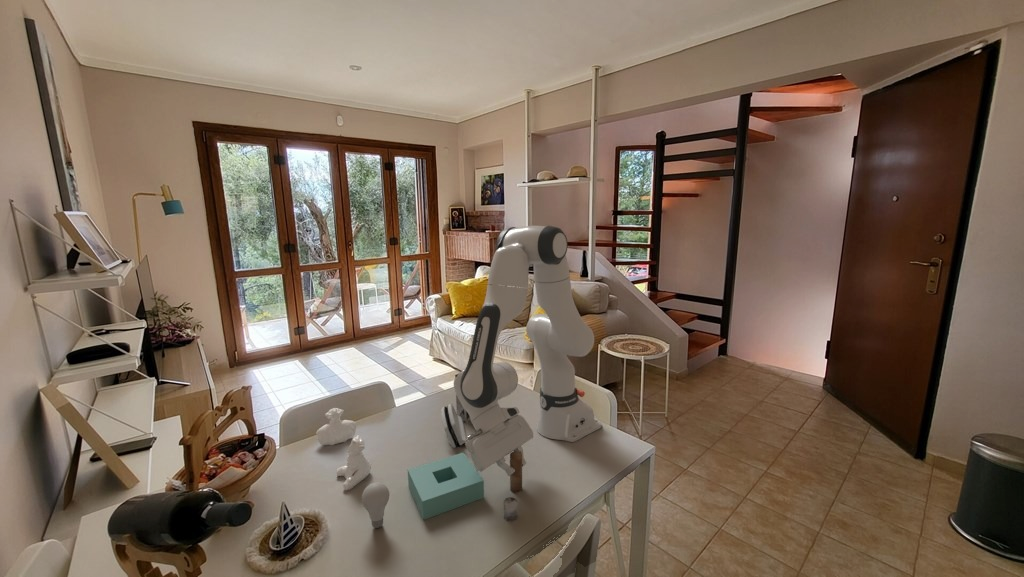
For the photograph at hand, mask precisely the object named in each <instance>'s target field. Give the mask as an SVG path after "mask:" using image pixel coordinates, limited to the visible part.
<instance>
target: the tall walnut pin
mask: <svg viewBox="0 0 1024 577" xmlns="http://www.w3.org/2000/svg"><path fill="white" fill-rule="evenodd" d="M509 466H513V468H514V469H515V472H514V473H513V474H512V475H510V476H509V477H510V478H509V486H510V487H509V488H510V491H511V493H513V494H514V493H515V494H518V493H520V492H522V491H523V467H522V453H521V452H518V451H512V452H511V453H509Z"/></svg>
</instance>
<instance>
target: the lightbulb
mask: <svg viewBox="0 0 1024 577" xmlns="http://www.w3.org/2000/svg"><path fill="white" fill-rule="evenodd" d="M389 499H390V491H389V488H388V486H387V485H386V484H385V483H382V482H379V481H376V482H372V483H370V484H368V485H367V486H366V487H365V488H364V490H363V492H362V494H361V504H362V507H364V509H365V510H366V511H367V513H368V515H369V518H370V521H371V527H372V528H374V529H380V528H381V527H382V526H383V525H384V516H385V509H386V506H387V504H388V502H389Z"/></svg>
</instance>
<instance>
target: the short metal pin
mask: <svg viewBox="0 0 1024 577" xmlns="http://www.w3.org/2000/svg"><path fill="white" fill-rule="evenodd" d="M503 518H504V520H505V521H507V522H513V521H516V520H517V518H518V500H517V499H516V498H515V497H514V496H509V497H505V499H504V500H503Z"/></svg>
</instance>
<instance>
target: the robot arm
mask: <svg viewBox="0 0 1024 577" xmlns="http://www.w3.org/2000/svg"><path fill="white" fill-rule="evenodd" d="M495 246H496V250H495V252H494V254H493V257H492V261H491V264H490V269H489V272H488V278H487V285H486V287H487V288H486V293H485V298H484V302H483V304H482V307H481V310H480V311H479V314H478V317H477V320H476V324H475V327H474V333H473V338H472V342H471V348H470V353H469V357H468V361H467V364H466V367H465V368H464V369H463V370H462V371H460V372H459V373H457V374H458V375H457V376H456V378H454V380H453V388H454V392H455V395H456V394H457V397H458V399H459V401H460V403H461V404H462V406H463V408H464V409H465V410H466V411H467V412H468V414H469V416H470V419H471V421H470V422H471V424H472V425H473V427H474V430H475V431H474V432H473V433H471V434H469V435H466V437H467V439H466V441H465V443H464V445H465V447H466V449H467V451H468V452H469V455H470V458H471V460H472V464H473V466H474V468H475V469H476V471H477V472H478V471H479V472H481V473H482V472H483V471H485V470H486V469H488V468H490V467H491V466H493V465H494V464H496V465H497V466H498V468H500V469H501V470H504V471H505V473H506V474H507V476H508V477H510V475H512V474H513V473H514V472H515V469H514V468H513V466H510V464H508V463H507V462H506V460H507V459H506V458H505V457H506V456H507V455H510V453H512V452H514V451H518V452H521V453H522V468H523V467H524V466H525V465H527V461H526V459H525V457H524V456H525V455H524V449H523V447H522V445H524V444H526V443H527V442H529V441H531V440H532V439H533V438H534V431H533V429H532V428H531V426H530V424H529V423H528V422H527V420H526V419H525V417H524V416H522V415H520V410H519V409H518V407H516V406H510V407H501V406H500V405H499V400H501V399H503V398H505V397H508V396H510V395H511V394H512V393H514V392H515V390H516V389H517V387H518V383H519V377H518V373H517V371H516V369H515V367H514V366H512V364H510V363H508V362H505V361H499V362H498V361H497V362H494V360H495V355H496V350H497V345H498V342H499V341H498V340H499V337H500V335H501V332H502V331H503V329H504V328H505V327H506V326H507V325H509V323H510V322H511V321H514V319H516V318H517V317H519V316H520V314H522V312H523V311H524V309H525V306H526V302H527V298H528V288H529V273H530V272H529V267H531V265H533V278H534V285H535V286H534V288H535V294H536V300H537V304H538V305H539V307H540V308H541V310H543V312H544V313H535V314H533V315H532V316H531V317H529V319H528V321H527V323H526V326H525V327H526V328H525V331H526V336H527V337H528V339H529V340H530V342H531V343H532V344H533V347H534V348H535V352H536V354H537V357H538V360H539V364H540V377H541V380H540V381H541V383H540V384H541V387H540V389H539V405H540V406H539V407H540V409H539V413H538V414H539V415H538V419H537V423H536V431H537V432H538V433H539V434H540V435H541V436H543V437H545V438H547V439H552V440H559V441H561V440H562V441H566V442H569V443H570V442H571V443H574V442H576V441H578V440H581V439H582V438H584V437H586V436H588V435H590V434H592V433H593V432H595V431H597V430H599V429H602V424H601V421H600V420H599V419H598V418H597V417H596V416H595V413H594V410H593V407H592V406H591V405H590V404H588V403H587V402H586V401H584V400H582V399H581V398H584V397H585V394H586V392H585V391H583V390H582V389H578V388H576V386H575V384H576V383H575V382H576V381H575V379H576V377H575V376H576V369H575V366H574V364H573V363H572V362H571V360H570V359H569V356H570V357H580V358H581V357H585V356H587V355H588V354H589V353H591V351H592V349H593V347H594V344H595V335H594V332H593V329H592V328H591V327H589V325H587V323H586V322H585V321H584V319H583V318H582V316H581V315H580V313H579V311H578V308H577V306H576V304H575V301H574V297H573V291H572V284H571V275H570V269H569V267H570V266H569V263H568V258H567V255H566V254H567V252H568V248H569V247H568V238H567V235H566V234H565V233H564V231H563V230H562V228H559V227H557V226H552V225H547V226H545V225H544V226H543V225H528V226H519V227H518V226H517V227H516V226H515V227H514V226H512V227H508V228H506V229H503V230H502V231H501V232H500V233H499V235H498V237H497V240H496V245H495Z"/></svg>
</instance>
